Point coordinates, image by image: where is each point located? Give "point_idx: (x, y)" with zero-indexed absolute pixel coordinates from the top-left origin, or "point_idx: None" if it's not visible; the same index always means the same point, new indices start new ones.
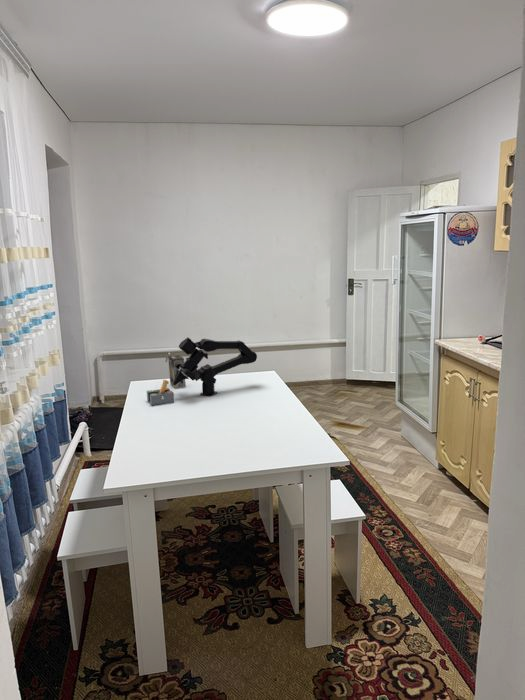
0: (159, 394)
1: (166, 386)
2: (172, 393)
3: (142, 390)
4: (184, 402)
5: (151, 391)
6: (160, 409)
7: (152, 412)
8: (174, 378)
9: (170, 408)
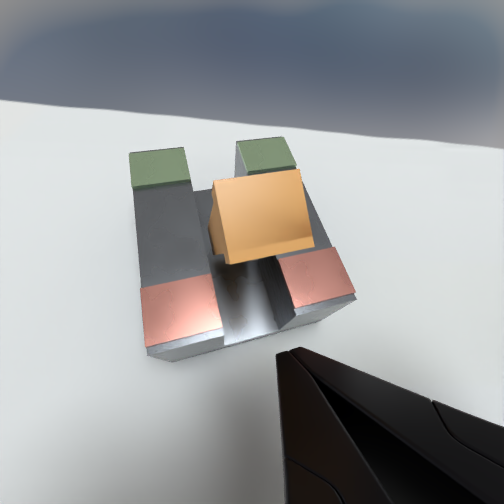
0: (148, 210)
1: (221, 253)
2: (147, 341)
3: (471, 175)
4: (131, 476)
5: (257, 159)
6: (46, 252)
7: (13, 205)
8: (379, 385)
9: (20, 326)
